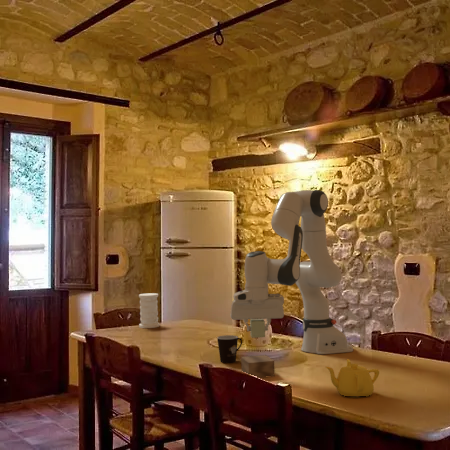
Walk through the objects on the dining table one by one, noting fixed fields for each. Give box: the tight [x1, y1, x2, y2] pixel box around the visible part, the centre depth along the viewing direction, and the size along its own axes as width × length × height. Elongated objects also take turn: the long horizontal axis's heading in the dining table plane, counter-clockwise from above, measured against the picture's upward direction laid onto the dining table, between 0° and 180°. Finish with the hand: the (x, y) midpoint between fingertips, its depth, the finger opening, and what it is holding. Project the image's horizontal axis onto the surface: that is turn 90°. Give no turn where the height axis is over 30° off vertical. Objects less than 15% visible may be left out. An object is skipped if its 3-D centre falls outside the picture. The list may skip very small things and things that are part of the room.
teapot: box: [325, 358, 380, 397], centre depth 198 cm, size 14×13×10 cm
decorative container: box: [138, 292, 161, 329], centre depth 336 cm, size 12×12×18 cm
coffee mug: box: [216, 334, 243, 364], centre depth 248 cm, size 12×9×10 cm
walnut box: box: [240, 354, 276, 378], centre depth 227 cm, size 10×10×6 cm
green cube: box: [249, 319, 266, 338], centre depth 227 cm, size 5×5×6 cm
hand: (257, 330), depth 227 cm, fingers closed on green cube, 5 cm apart
